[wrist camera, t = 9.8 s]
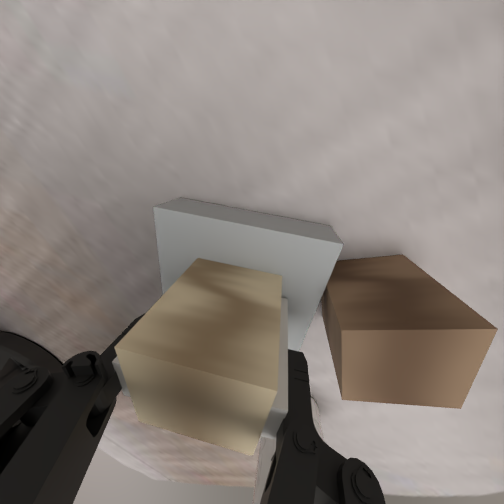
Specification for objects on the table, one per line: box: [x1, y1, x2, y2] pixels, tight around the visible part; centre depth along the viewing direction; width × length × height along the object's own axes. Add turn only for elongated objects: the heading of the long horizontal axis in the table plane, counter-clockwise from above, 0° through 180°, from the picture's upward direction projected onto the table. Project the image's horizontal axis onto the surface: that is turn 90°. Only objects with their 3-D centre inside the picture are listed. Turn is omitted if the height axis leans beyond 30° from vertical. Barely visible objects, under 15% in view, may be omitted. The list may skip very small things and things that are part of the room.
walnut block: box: [321, 255, 497, 409], centre depth 13 cm, size 6×6×7 cm
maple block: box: [114, 258, 282, 456], centre depth 11 cm, size 6×6×7 cm
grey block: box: [153, 198, 344, 351], centre depth 16 cm, size 12×12×4 cm
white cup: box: [253, 398, 324, 504], centre depth 20 cm, size 8×8×10 cm
